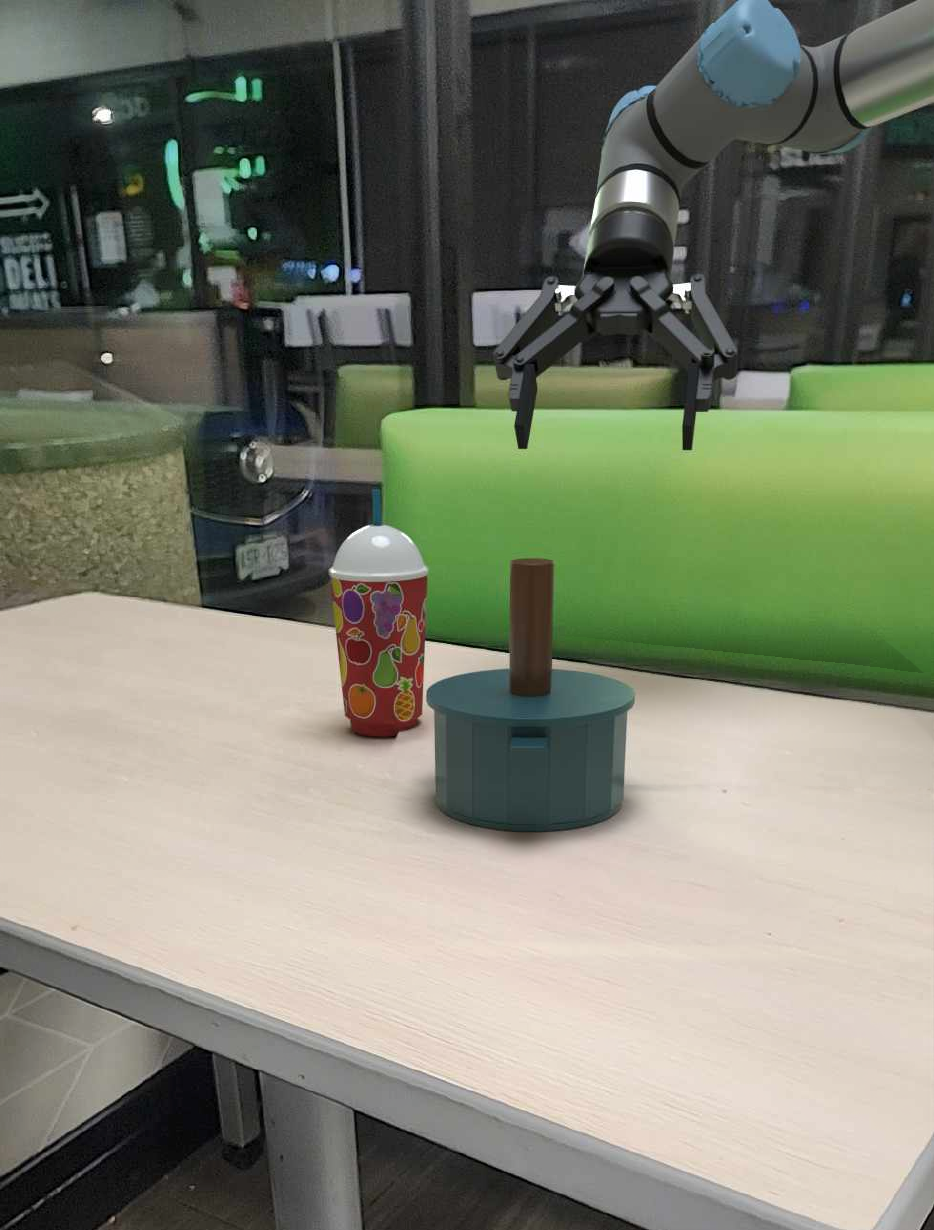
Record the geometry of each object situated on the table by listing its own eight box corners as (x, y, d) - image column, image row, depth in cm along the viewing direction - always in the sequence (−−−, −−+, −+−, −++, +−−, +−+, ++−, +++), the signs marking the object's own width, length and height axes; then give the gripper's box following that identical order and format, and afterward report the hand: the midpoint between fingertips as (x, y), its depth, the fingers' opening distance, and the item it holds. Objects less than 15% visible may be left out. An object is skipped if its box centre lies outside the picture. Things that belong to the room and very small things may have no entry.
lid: (628, 684, 97) (634, 546, 92) (641, 737, 83) (649, 578, 79) (435, 682, 97) (433, 545, 93) (417, 734, 84) (413, 577, 80)
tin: (615, 763, 101) (619, 670, 98) (629, 847, 84) (634, 737, 81) (446, 761, 102) (445, 668, 99) (425, 844, 85) (423, 735, 82)
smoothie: (416, 713, 116) (411, 483, 108) (443, 736, 109) (440, 492, 101) (327, 721, 113) (315, 487, 105) (349, 745, 106) (337, 496, 98)
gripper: (775, 277, 111) (757, 471, 104) (497, 282, 116) (461, 468, 109) (780, 201, 104) (761, 403, 97) (485, 211, 109) (445, 403, 102)
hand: (602, 438), depth 103 cm, fingers open, 13 cm apart
